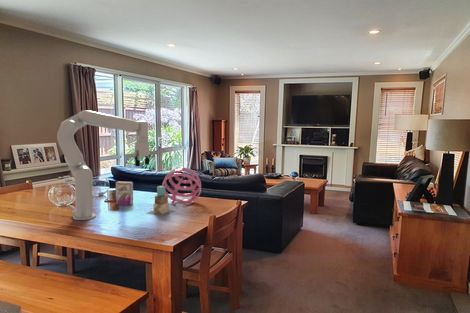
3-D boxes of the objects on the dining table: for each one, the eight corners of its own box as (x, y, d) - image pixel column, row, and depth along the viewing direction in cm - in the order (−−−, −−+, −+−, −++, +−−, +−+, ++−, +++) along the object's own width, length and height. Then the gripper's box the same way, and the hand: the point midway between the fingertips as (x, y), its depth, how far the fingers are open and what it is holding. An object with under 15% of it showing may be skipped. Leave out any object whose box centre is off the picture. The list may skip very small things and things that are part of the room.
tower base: (153, 212, 209) (153, 203, 208) (160, 210, 215) (160, 201, 215) (162, 214, 206) (162, 204, 206) (168, 211, 213) (168, 202, 212)
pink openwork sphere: (189, 182, 212) (195, 156, 233) (151, 190, 218) (160, 164, 239) (204, 210, 229) (208, 183, 250) (168, 216, 235) (175, 190, 256)
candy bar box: (115, 205, 228) (115, 182, 227) (118, 203, 233) (118, 181, 232) (130, 205, 227) (130, 182, 226) (133, 204, 232) (133, 181, 231)
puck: (155, 195, 208) (155, 186, 208) (160, 194, 213) (160, 185, 213) (162, 196, 206) (162, 187, 206) (166, 195, 211) (166, 186, 211)
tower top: (154, 203, 209) (154, 196, 208) (160, 201, 214) (160, 194, 214) (162, 204, 206) (162, 196, 206) (167, 202, 212) (167, 195, 211)
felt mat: (145, 213, 207) (145, 213, 207) (158, 208, 220) (158, 208, 220) (163, 216, 202) (163, 216, 202) (176, 211, 215) (176, 210, 215)
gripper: (146, 139, 222) (146, 163, 223) (128, 139, 206) (129, 166, 207) (155, 139, 219) (155, 164, 220) (138, 140, 203) (138, 167, 204)
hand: (142, 165), depth 214 cm, fingers open, 9 cm apart
